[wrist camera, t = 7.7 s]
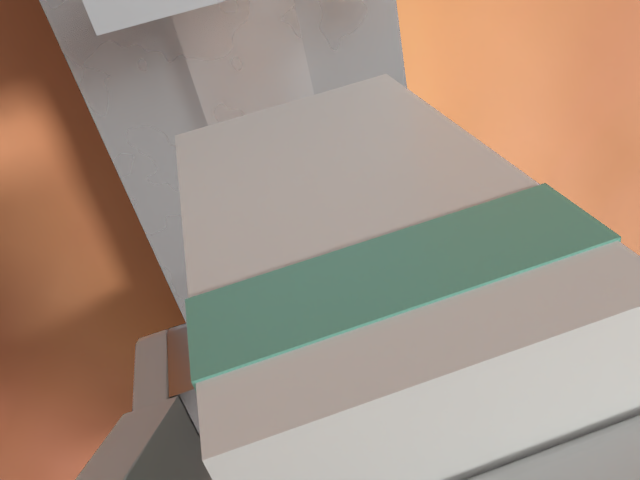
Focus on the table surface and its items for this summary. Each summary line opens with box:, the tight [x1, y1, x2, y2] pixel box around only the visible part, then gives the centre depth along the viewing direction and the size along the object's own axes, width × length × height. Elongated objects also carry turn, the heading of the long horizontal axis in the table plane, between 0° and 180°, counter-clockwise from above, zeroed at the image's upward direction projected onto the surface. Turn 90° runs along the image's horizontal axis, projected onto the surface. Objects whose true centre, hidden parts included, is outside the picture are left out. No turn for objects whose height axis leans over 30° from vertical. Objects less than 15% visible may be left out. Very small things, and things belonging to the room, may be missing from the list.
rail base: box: [39, 0, 407, 323], centre depth 19 cm, size 10×26×2 cm, turn 12°
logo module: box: [175, 74, 640, 480], centre depth 9 cm, size 4×6×7 cm
